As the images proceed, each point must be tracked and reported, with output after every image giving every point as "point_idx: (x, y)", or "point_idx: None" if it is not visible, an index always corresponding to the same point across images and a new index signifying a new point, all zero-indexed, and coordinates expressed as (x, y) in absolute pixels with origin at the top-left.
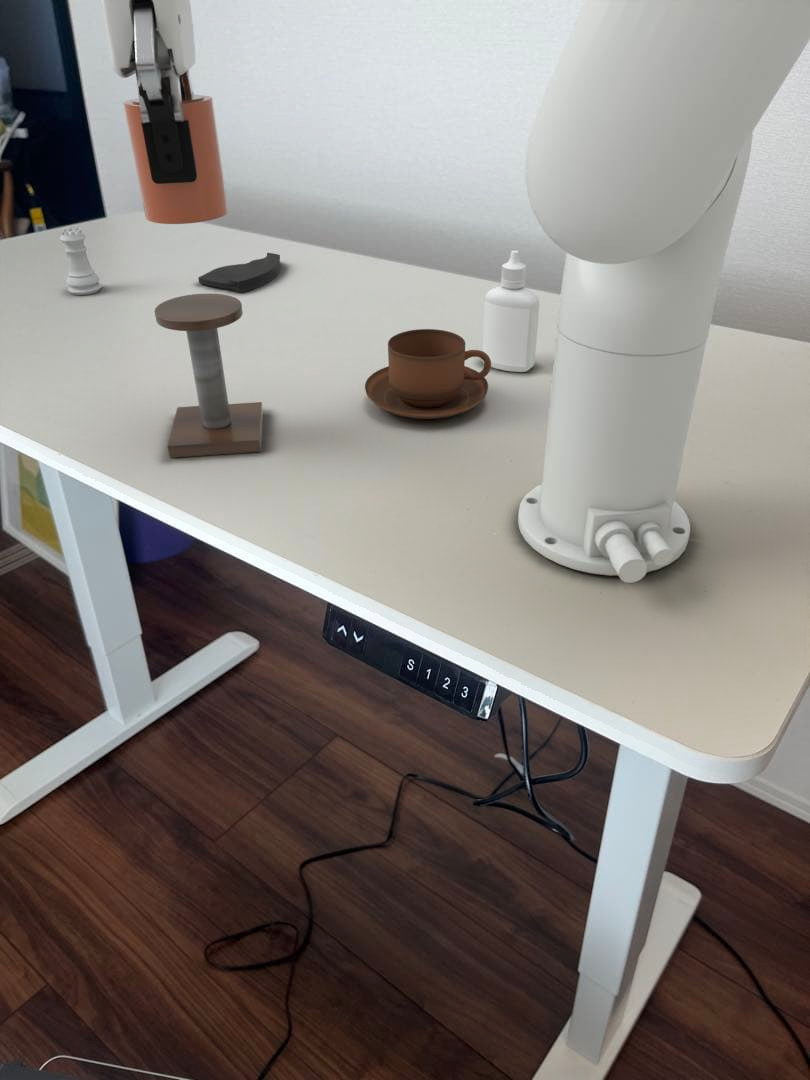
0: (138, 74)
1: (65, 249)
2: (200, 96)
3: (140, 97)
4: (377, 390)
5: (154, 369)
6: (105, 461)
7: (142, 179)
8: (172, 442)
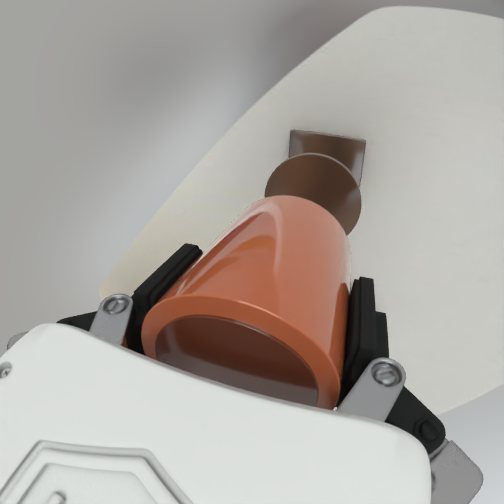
0: (21, 333)
1: None
2: None
3: (93, 323)
4: (349, 295)
5: (474, 132)
6: (298, 81)
7: (232, 225)
8: (296, 134)
